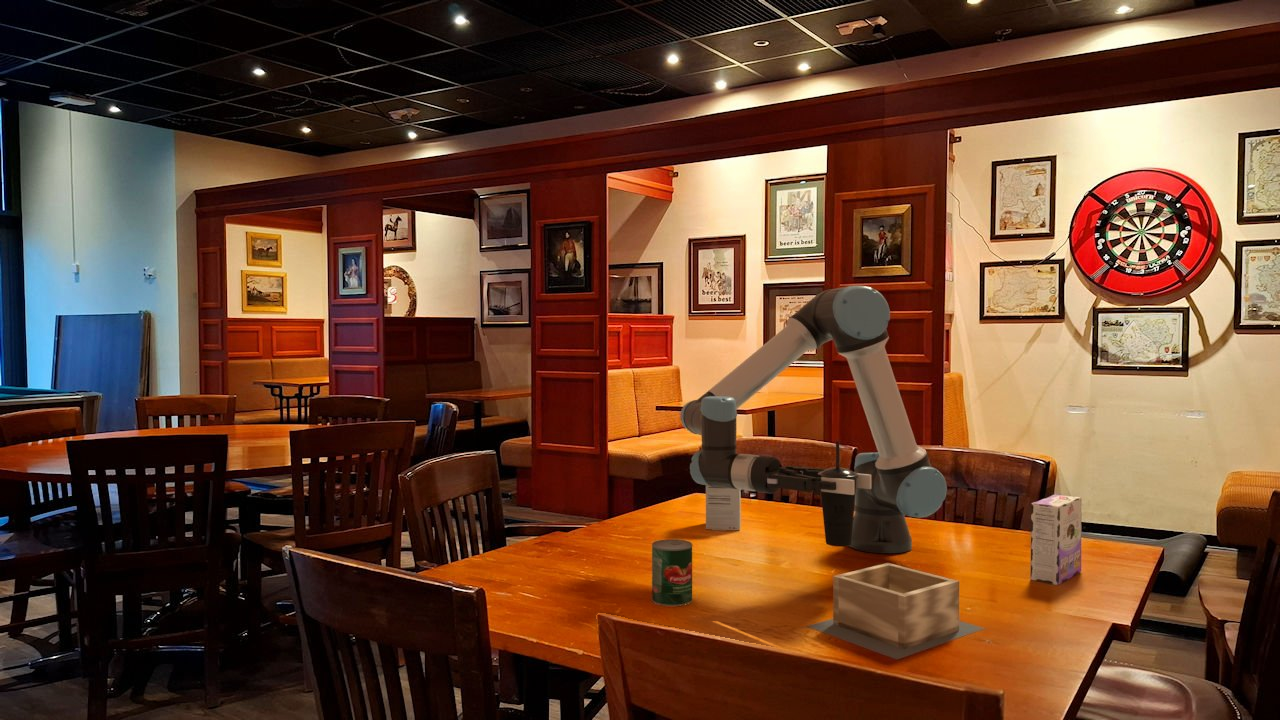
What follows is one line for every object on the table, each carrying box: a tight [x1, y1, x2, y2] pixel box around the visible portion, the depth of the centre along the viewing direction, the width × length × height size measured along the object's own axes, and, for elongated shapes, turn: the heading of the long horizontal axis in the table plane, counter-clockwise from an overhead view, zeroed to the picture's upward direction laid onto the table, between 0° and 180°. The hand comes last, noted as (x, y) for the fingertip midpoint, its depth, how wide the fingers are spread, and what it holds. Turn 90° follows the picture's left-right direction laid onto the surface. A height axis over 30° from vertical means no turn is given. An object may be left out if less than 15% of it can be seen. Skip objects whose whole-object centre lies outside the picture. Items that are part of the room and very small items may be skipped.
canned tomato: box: [651, 538, 693, 607], centre depth 164 cm, size 8×8×11 cm
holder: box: [832, 562, 960, 649], centre depth 147 cm, size 15×15×8 cm
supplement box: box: [705, 485, 742, 531], centre depth 228 cm, size 10×9×17 cm
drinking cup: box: [818, 440, 858, 548], centre depth 164 cm, size 8×8×20 cm
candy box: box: [1030, 494, 1082, 586], centre depth 180 cm, size 14×6×16 cm, turn 135°
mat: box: [806, 618, 986, 660], centre depth 147 cm, size 24×19×1 cm
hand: (862, 484), depth 161 cm, fingers closed on drinking cup, 7 cm apart
